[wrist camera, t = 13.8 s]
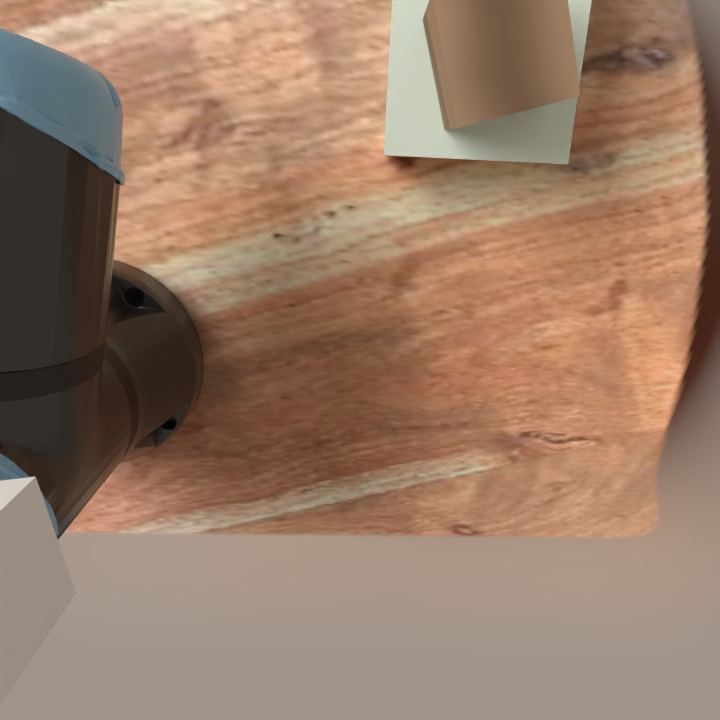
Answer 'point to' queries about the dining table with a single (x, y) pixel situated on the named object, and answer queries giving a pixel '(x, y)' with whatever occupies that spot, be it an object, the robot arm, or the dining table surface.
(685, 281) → the dining table surface
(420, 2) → the pedestal block
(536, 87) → the walnut block
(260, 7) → the dining table surface
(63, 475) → the robot arm
